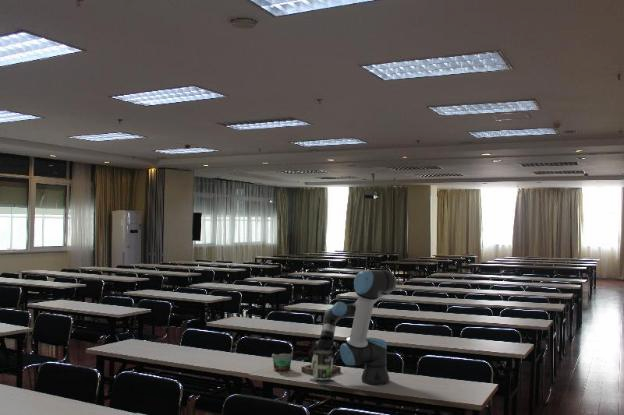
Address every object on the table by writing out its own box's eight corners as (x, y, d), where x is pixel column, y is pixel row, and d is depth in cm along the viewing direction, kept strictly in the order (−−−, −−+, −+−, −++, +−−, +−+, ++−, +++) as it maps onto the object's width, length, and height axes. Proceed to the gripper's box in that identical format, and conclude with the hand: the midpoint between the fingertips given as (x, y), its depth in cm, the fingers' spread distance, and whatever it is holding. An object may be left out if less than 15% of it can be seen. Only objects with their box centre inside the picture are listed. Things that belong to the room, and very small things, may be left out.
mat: (335, 381, 322) (335, 380, 322) (324, 384, 316) (324, 383, 316) (320, 377, 329) (320, 376, 329) (309, 380, 323) (309, 379, 323)
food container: (273, 373, 337) (273, 355, 337) (271, 370, 343) (271, 353, 343) (294, 371, 340) (294, 354, 340) (292, 369, 346) (292, 352, 346)
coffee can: (335, 377, 323) (336, 351, 324) (324, 381, 315) (325, 354, 315) (320, 373, 330) (320, 348, 330) (309, 377, 321) (309, 351, 322)
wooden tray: (340, 372, 341) (340, 367, 341) (322, 377, 329) (322, 372, 329) (320, 367, 352) (320, 362, 352) (301, 372, 340) (301, 366, 340)
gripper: (348, 338, 335) (342, 373, 320) (309, 336, 340) (302, 370, 325) (346, 331, 330) (341, 366, 314) (307, 328, 335) (300, 363, 319)
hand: (321, 368), depth 320 cm, fingers closed on coffee can, 10 cm apart
